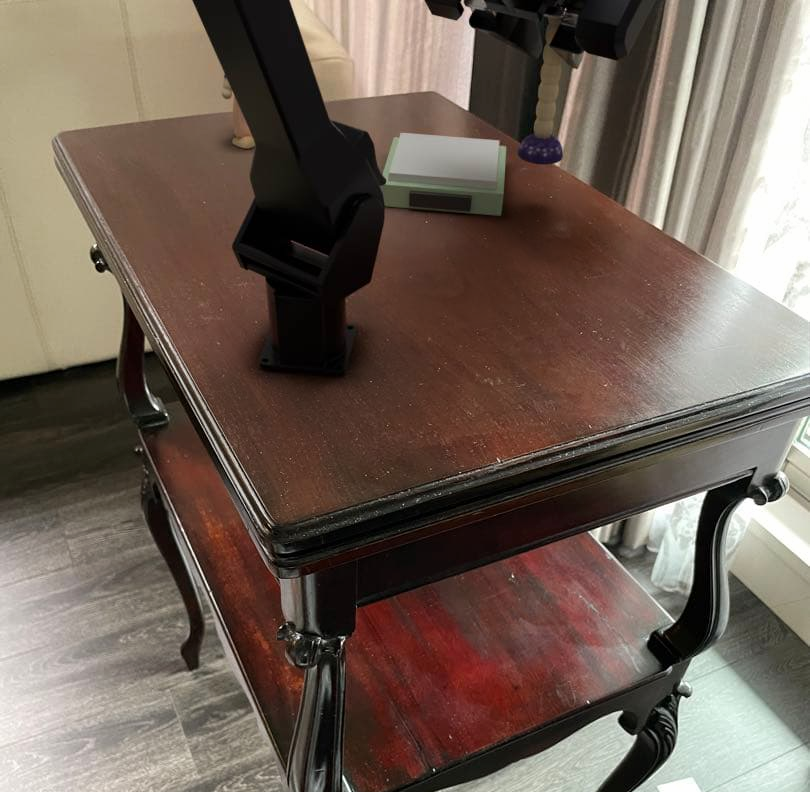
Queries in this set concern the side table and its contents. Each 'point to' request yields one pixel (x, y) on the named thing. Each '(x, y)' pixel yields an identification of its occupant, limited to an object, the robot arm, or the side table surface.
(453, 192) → the scale
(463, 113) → the side table surface
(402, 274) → the side table surface
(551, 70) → the toy lamp
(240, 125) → the grandmother figurine
